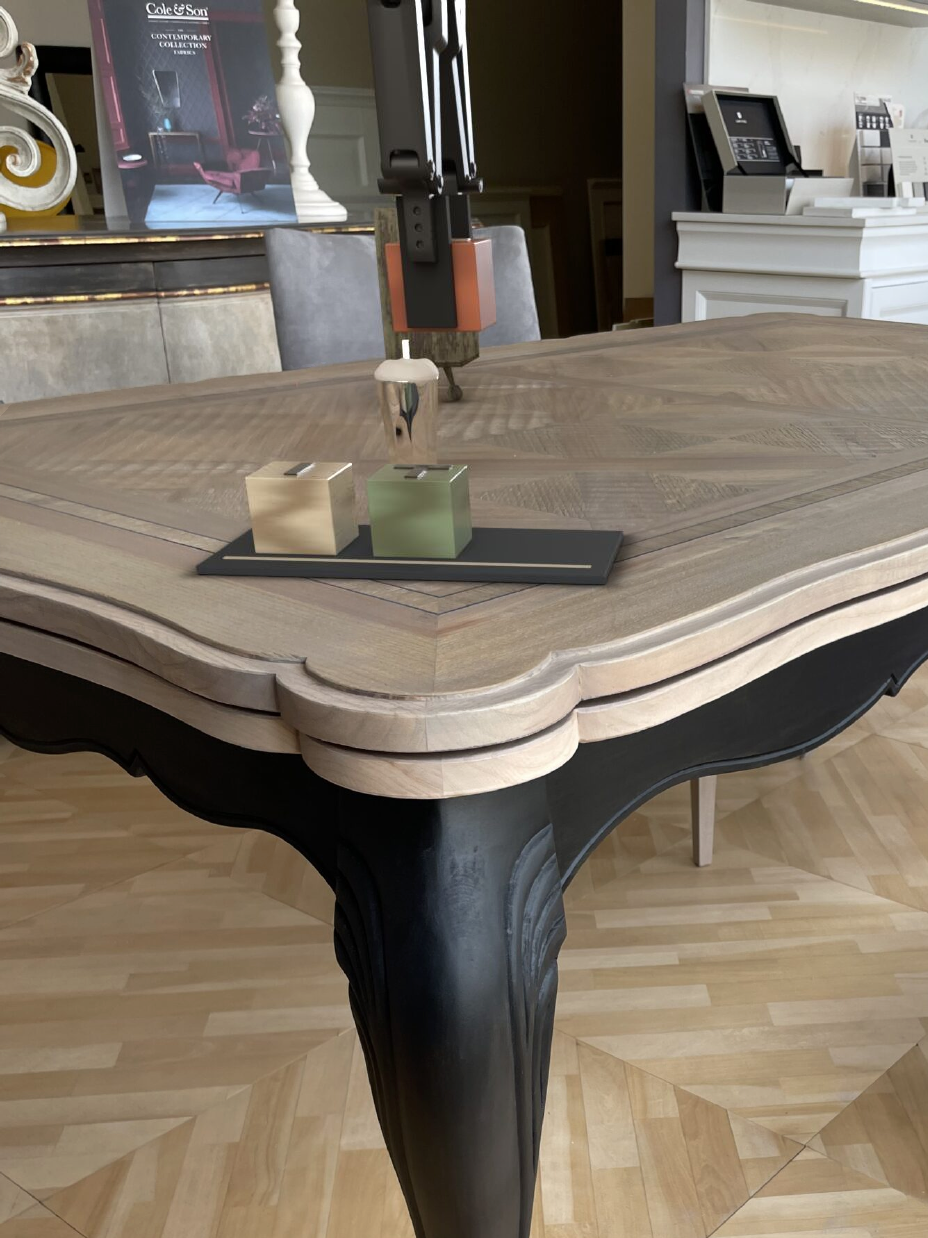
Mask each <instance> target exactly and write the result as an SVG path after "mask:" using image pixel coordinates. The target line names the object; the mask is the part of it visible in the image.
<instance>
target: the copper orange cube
mask: <svg viewBox="0 0 928 1238" xmlns="http://www.w3.org/2000/svg"><path fill="white" fill-rule="evenodd" d="M385 252H386V262H387V271H388V280H389V290H390V299H391V309H392V318H393V327H394V332H478V333H479V332H482V331H484V330H486V329H488V328H489V327H491V326H494V325H495V324H497V322H498V318H497V305H496V303H497V302H496V289H495V288H496V287H495V276H494V275H495V274H494V262H493V247H492V239H491V238H473V239H470V238H452V254H453V267H454V281H455V294H456V308H457V321H458V327H457V328H407V318H406V307H405V296H404V285H403V274H402V263H401V252H400V241H397V242H392V243H386V244H385Z"/></svg>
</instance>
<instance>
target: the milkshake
mask: <svg viewBox="0 0 928 1238" xmlns="http://www.w3.org/2000/svg"><path fill="white" fill-rule="evenodd" d="M402 346H403V358H401V359H398V360H386V359H385V360H384V361H382V362H381V364H379V366H378V367H377V368H376V370H375V371H374V376H373V377H374V380H375V386H376V391H377V396H378V402H379V407H380V411H381V416H382V422H383V427H384V432H385V439H386V446H387V451H388V458H389V463H393V464H438V416H439V415H438V414H439V388H440V387H439V386H440V385H439V383H440V378H439V377H440V373H439V369H438V368H437V367H436V366H435V365H434V363H433V362H432V361H430V360H429V359H425V358H424V359H410V352H409V340H402Z"/></svg>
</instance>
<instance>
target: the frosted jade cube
mask: <svg viewBox="0 0 928 1238" xmlns="http://www.w3.org/2000/svg"><path fill="white" fill-rule="evenodd" d="M365 485H366V486H365V487H366V496H367V506H368V516H369V525H370V527H371V537H372V546H373V556H374V557H407V558H448V559H455V558H456V557H457V556H458V555H459V554H460V553H461V551H462V550H463V549H464V548H465V546H466V545H467V544H468V543H469V542H470V540H471V539H472V527H473V526H472V513H471V499H470V498H471V497H470V481H469V467H468V464H438V463H437V464H393V463H390V462H389V463H386V464H385V465H384V466H382V467H381V468H380V469H378V470H377V471H376V472H374V473H373V474H372V475H370V476H369V477H368V478H367V479H365Z"/></svg>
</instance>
